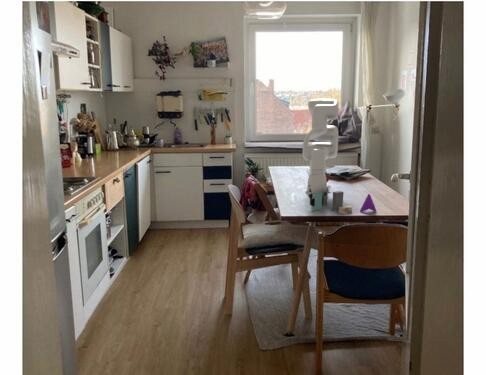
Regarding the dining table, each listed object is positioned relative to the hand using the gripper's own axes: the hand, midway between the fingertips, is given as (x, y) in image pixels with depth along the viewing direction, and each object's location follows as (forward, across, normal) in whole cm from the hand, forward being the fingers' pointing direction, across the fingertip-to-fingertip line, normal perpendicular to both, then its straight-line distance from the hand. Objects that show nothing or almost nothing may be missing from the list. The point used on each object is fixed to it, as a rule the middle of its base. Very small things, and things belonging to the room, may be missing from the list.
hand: (316, 204), depth 238 cm
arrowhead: (+3, -21, +17) cm, 27 cm away
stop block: (+2, -9, +13) cm, 16 cm away
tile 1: (+2, -9, -6) cm, 11 cm away
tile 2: (+2, -9, +6) cm, 11 cm away
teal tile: (+2, 0, 0) cm, 2 cm away
